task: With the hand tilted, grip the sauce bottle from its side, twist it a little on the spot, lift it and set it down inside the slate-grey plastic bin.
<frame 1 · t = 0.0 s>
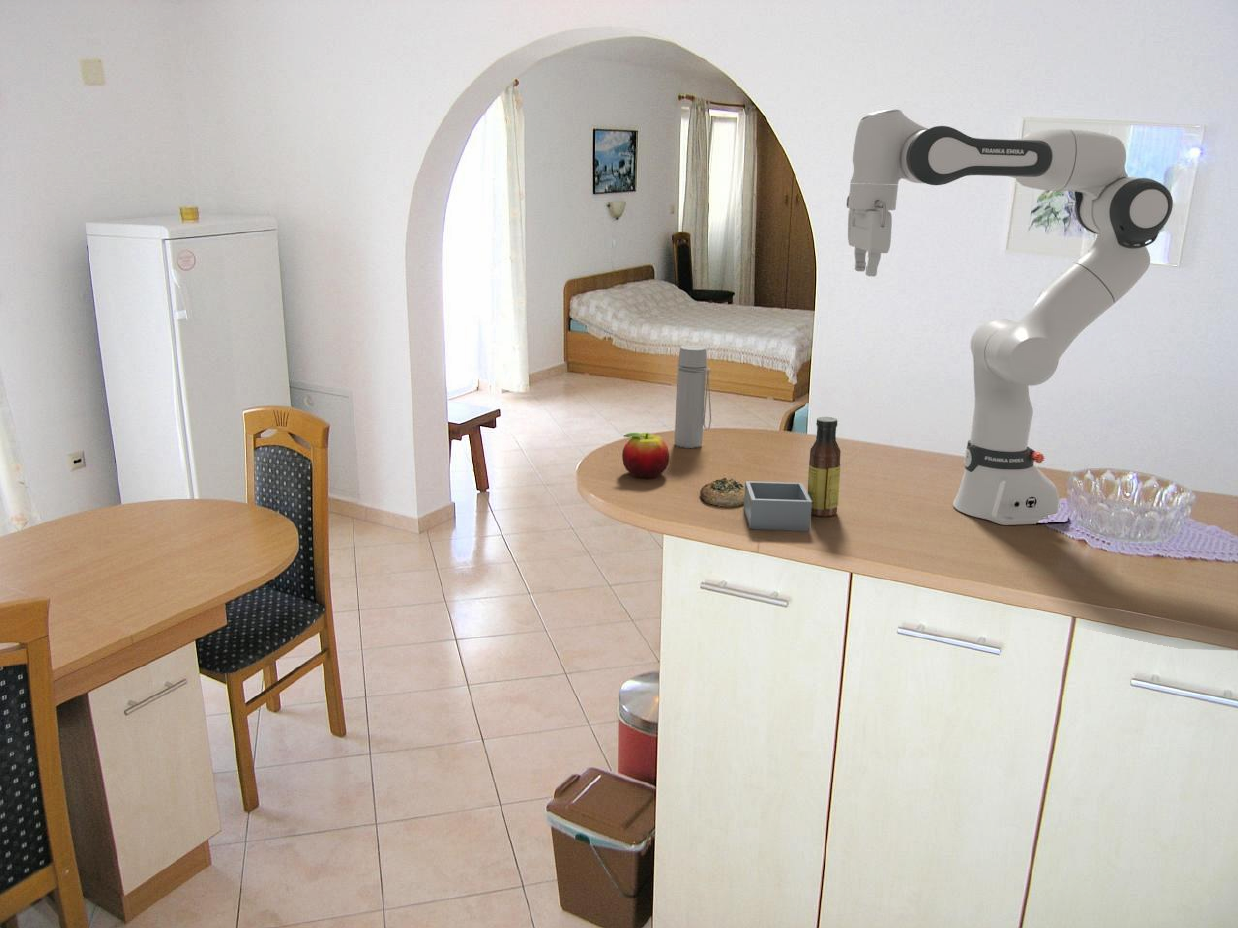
hand: (865, 273, 186), 48 cm above the table, tool pointing down, fingers open, 8 cm apart
bin: (775, 519, 190), on the table
fruit: (644, 475, 217), on the table
bread roll: (725, 500, 202), on the table
sauce bottle: (820, 513, 195), on the table
water bottle: (691, 446, 240), on the table
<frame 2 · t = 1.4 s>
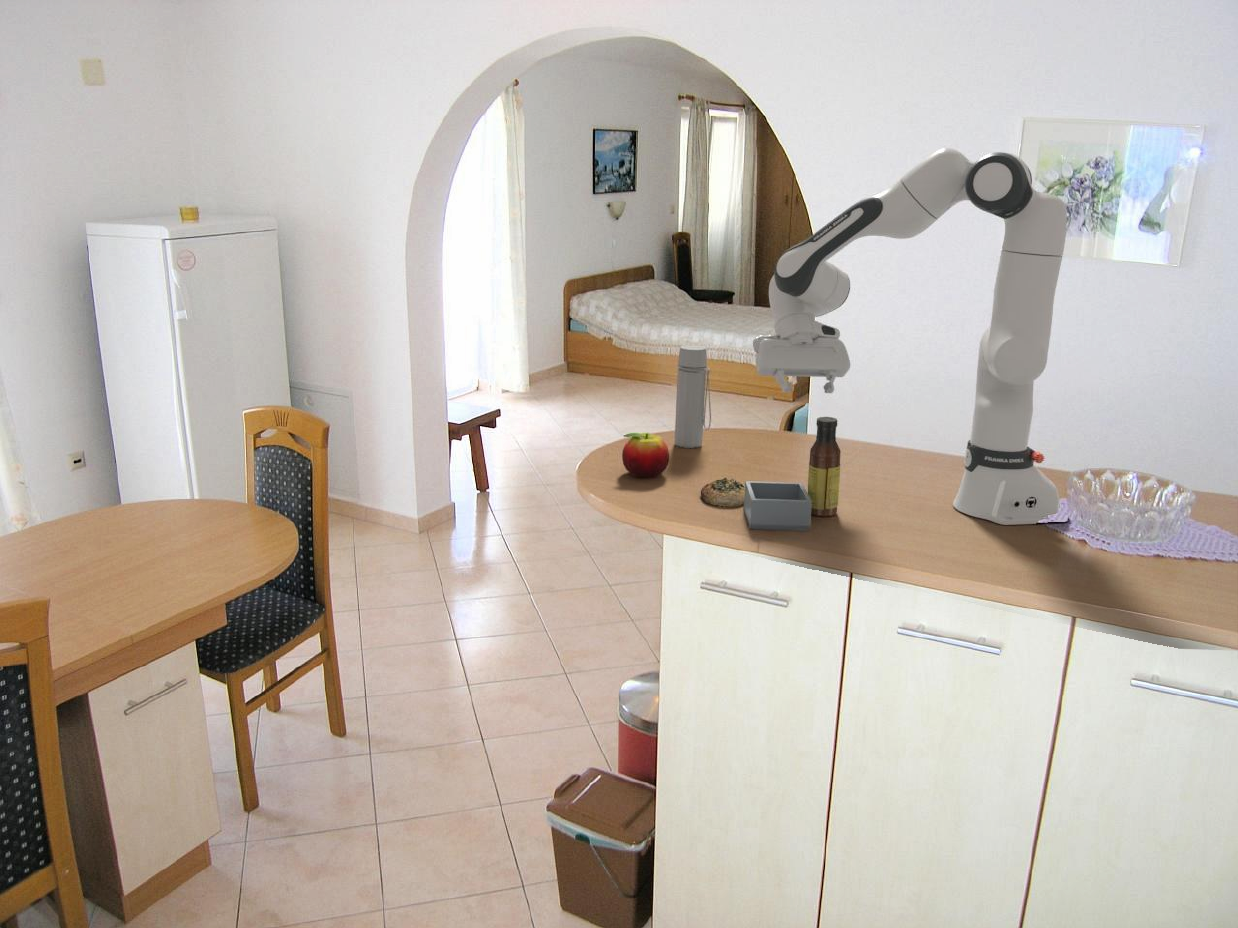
hand: (808, 391, 200), 23 cm above the table, tool tilted 45°, fingers open, 8 cm apart
nothing on the table moved.
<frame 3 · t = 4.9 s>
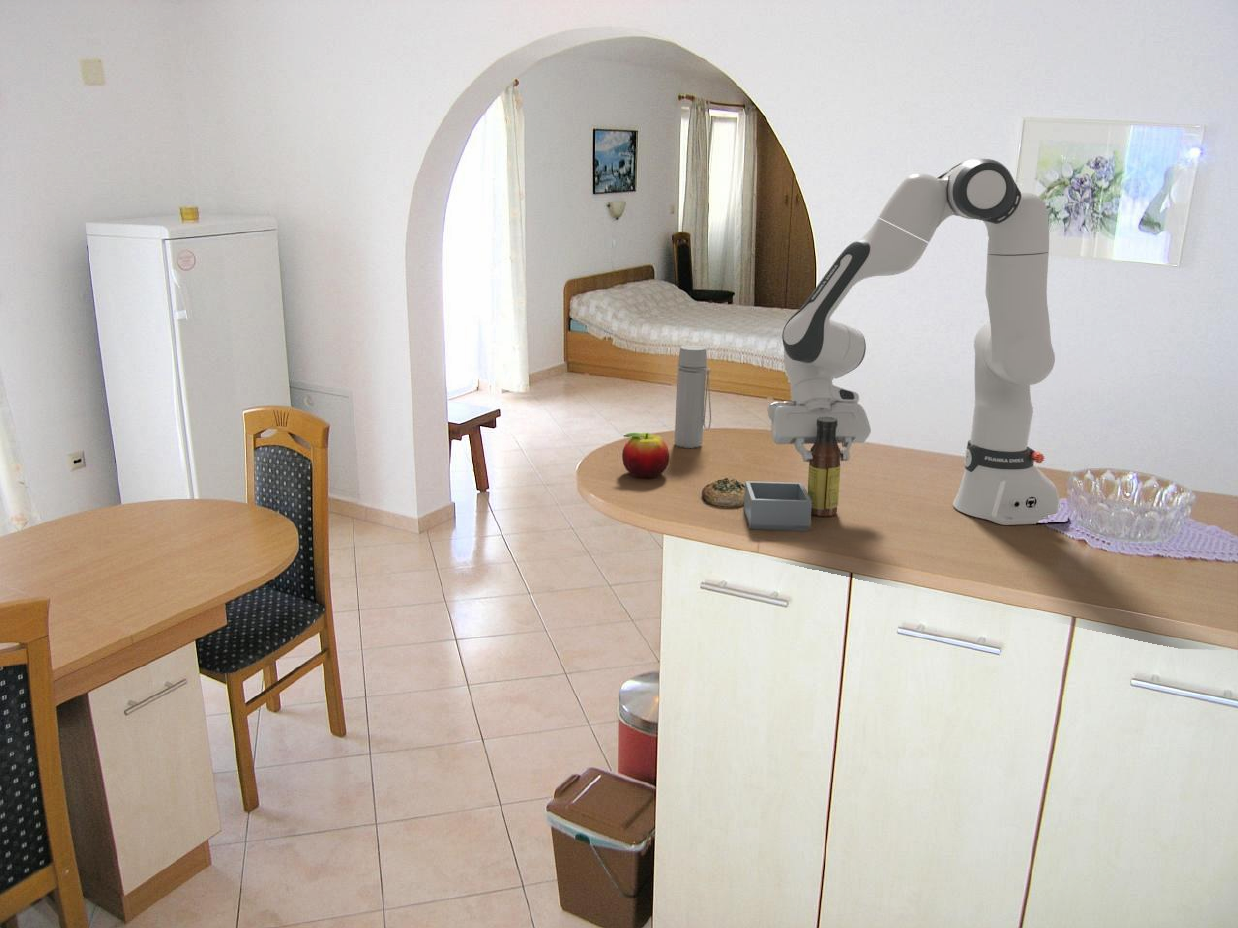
hand: (827, 460, 191), 11 cm above the table, tool tilted 45°, fingers open, 6 cm apart
sauce bottle: (820, 513, 195), on the table, touching gripper
everything else where it was.
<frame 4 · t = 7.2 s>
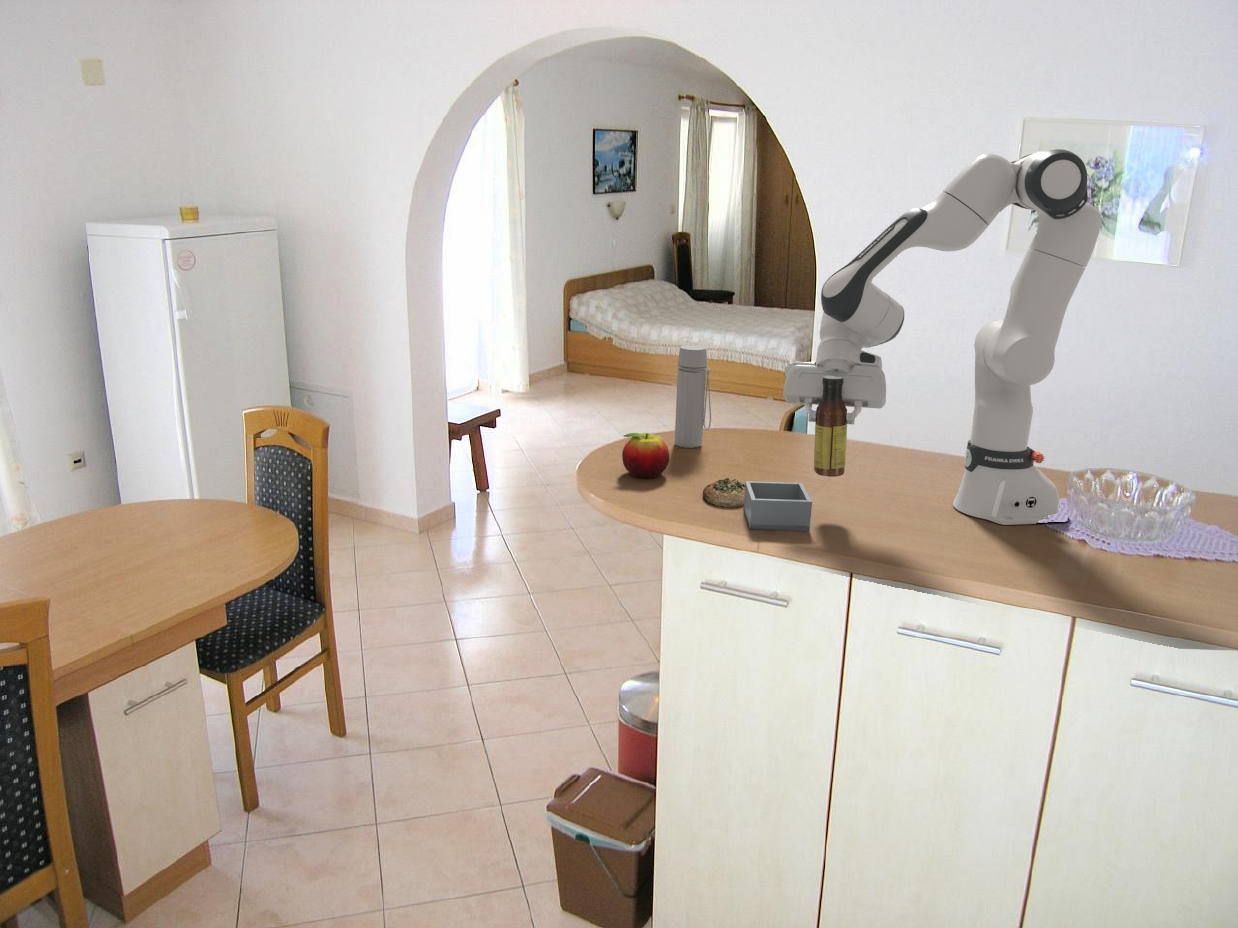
hand: (831, 421, 189), 19 cm above the table, tool tilted 45°, fingers closed on sauce bottle, 6 cm apart
sauce bottle: (827, 474, 193), point 8 cm above the table, touching gripper
everything else where it was.
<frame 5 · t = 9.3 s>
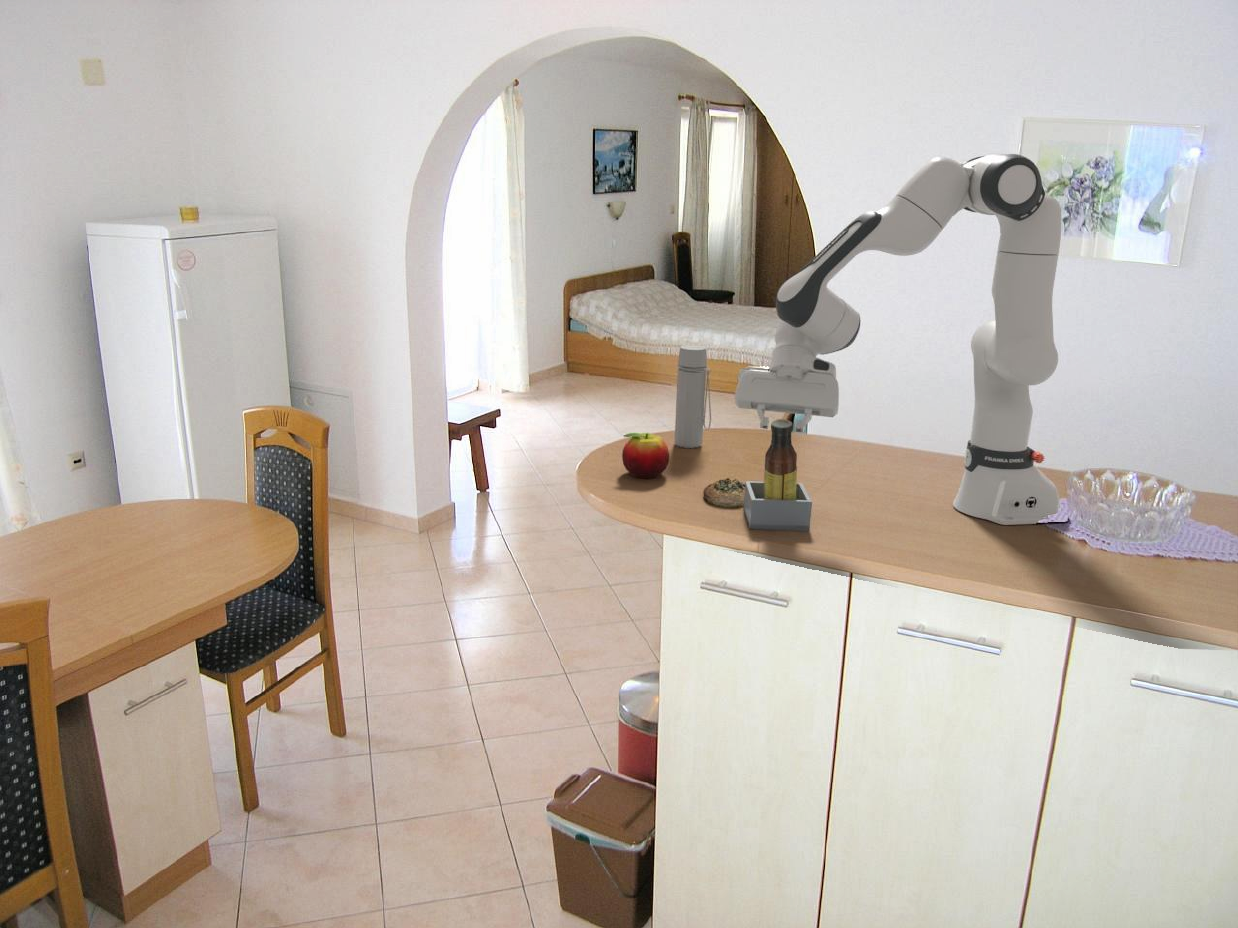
hand: (781, 429, 184), 19 cm above the table, tool tilted 45°, fingers open, 5 cm apart
sauce bottle: (778, 515, 189), point 1 cm above the table, touching bin
everything else where it was.
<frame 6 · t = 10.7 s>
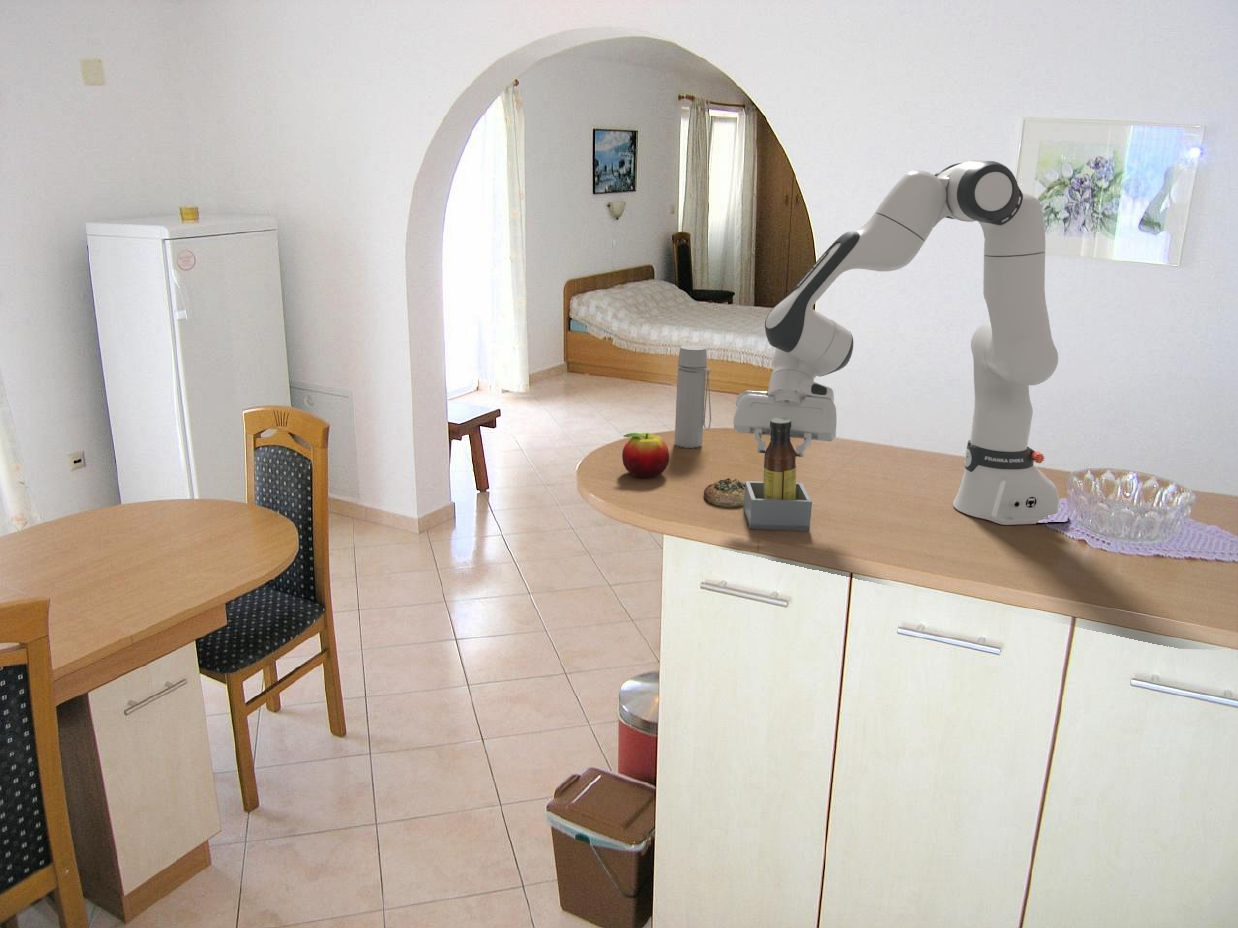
hand: (780, 453, 186), 14 cm above the table, tool tilted 45°, fingers open, 6 cm apart
sauce bottle: (777, 516, 189), point 1 cm above the table, touching bin, gripper
everything else where it was.
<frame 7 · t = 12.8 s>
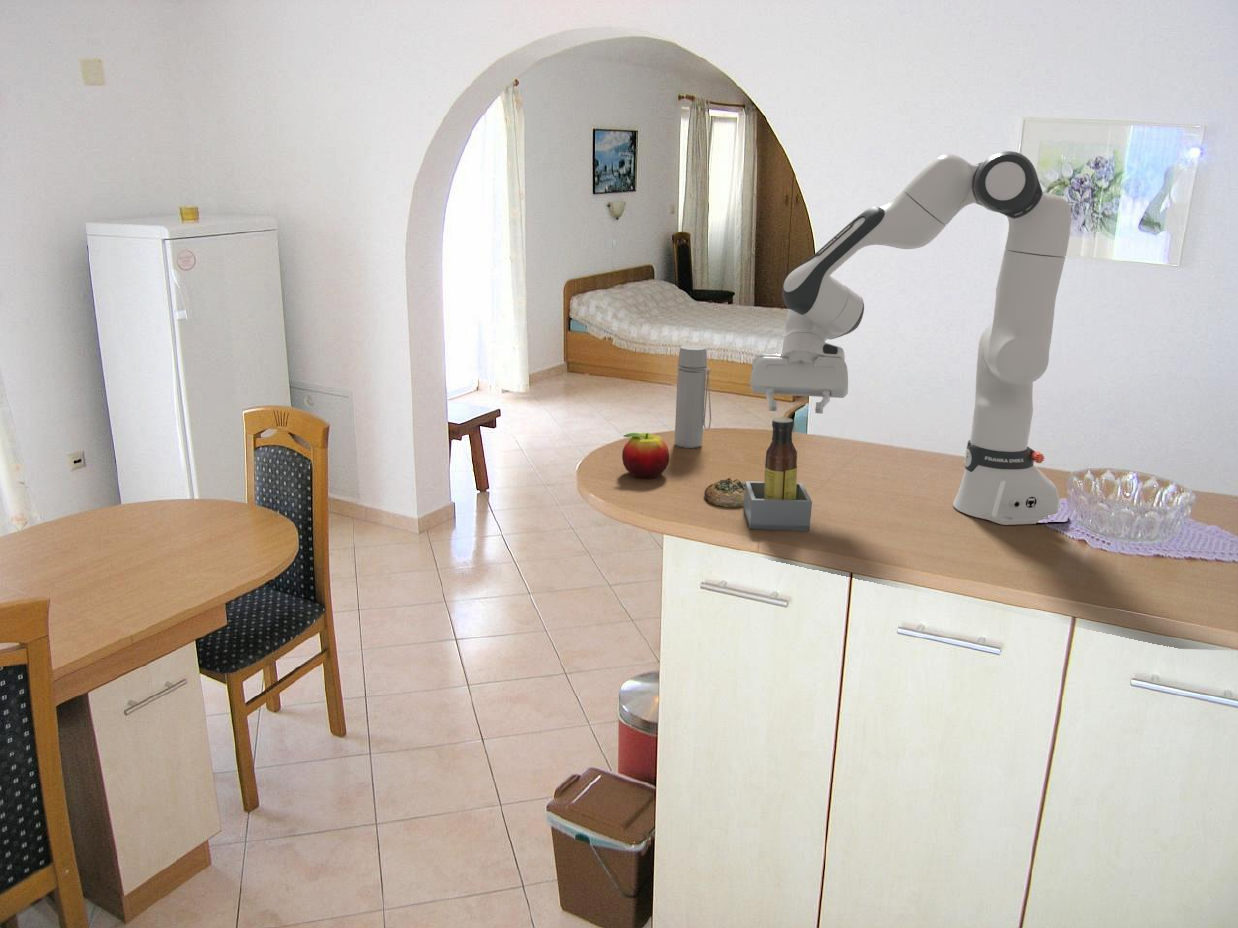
hand: (795, 410, 196), 20 cm above the table, tool tilted 45°, fingers open, 8 cm apart
sauce bottle: (777, 517, 189), point 1 cm above the table, touching bin
everything else where it was.
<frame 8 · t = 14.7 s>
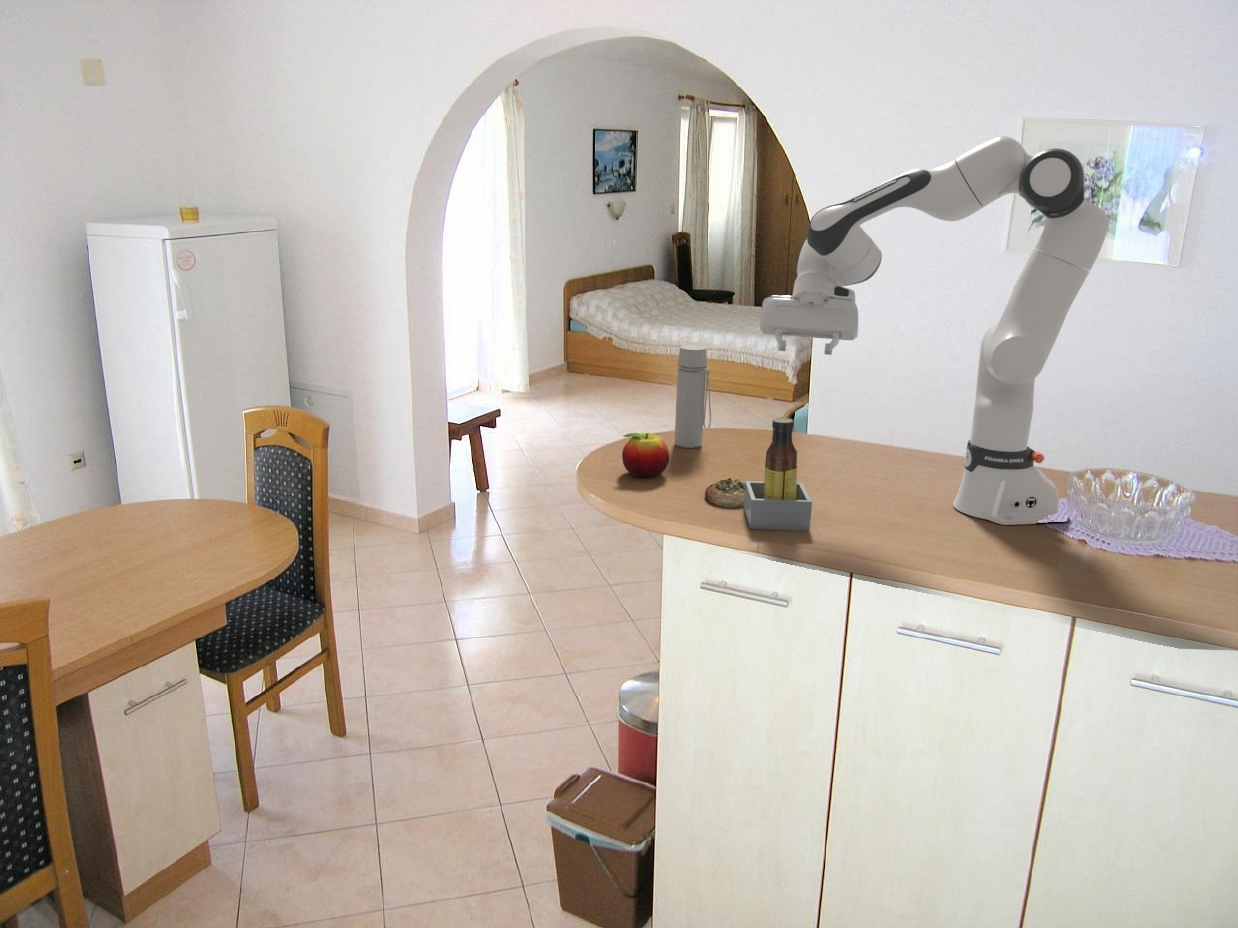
hand: (804, 351, 196), 31 cm above the table, tool tilted 45°, fingers open, 8 cm apart
at the end: sauce bottle 0.9 cm from the bin (horizontally); sauce bottle tilted 0°; the gripper is holding nothing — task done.
